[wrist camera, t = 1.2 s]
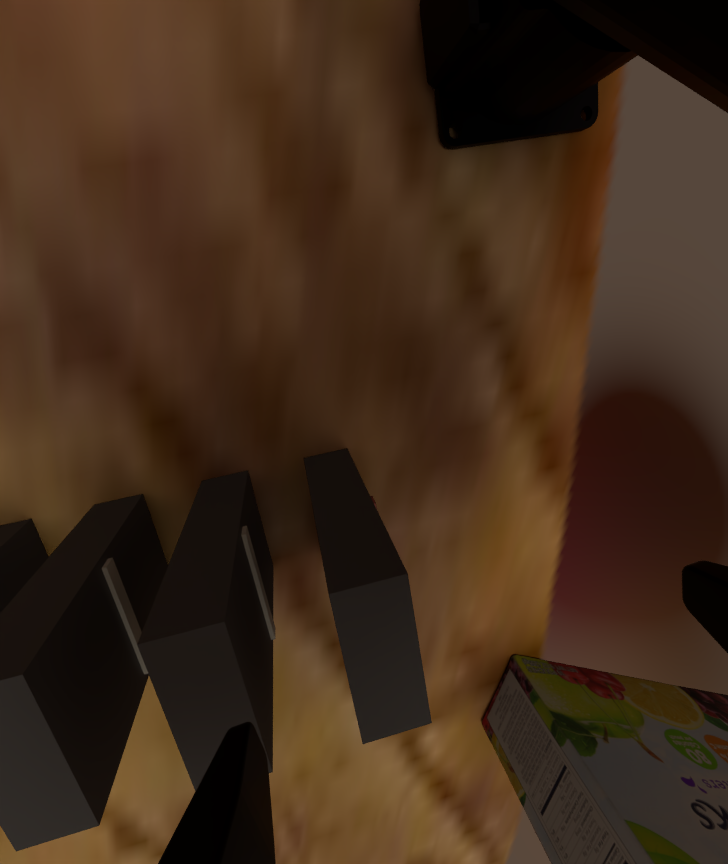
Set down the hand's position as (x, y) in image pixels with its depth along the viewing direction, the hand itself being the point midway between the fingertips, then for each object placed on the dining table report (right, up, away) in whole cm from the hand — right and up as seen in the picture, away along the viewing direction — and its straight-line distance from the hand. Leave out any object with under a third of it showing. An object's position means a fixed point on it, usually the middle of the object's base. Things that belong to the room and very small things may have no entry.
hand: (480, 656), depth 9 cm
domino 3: (-4, +1, +13) cm, 13 cm away
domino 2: (-8, 0, +12) cm, 14 cm away
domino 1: (-12, -1, +11) cm, 17 cm away
